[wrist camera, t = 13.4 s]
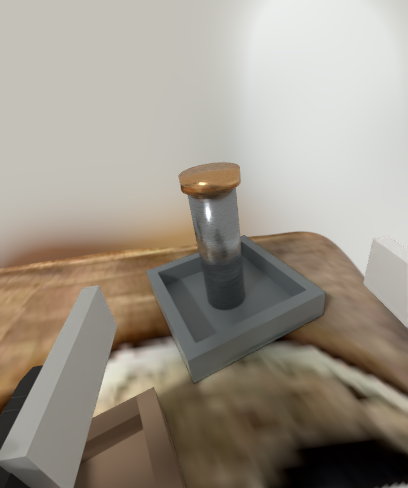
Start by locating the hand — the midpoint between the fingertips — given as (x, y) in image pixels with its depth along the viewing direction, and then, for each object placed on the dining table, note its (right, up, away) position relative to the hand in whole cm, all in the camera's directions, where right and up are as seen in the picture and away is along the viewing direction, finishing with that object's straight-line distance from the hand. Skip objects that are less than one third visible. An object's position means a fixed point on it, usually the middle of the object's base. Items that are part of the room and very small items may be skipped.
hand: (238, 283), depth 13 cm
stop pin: (0, -3, +12) cm, 12 cm away
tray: (0, -4, +12) cm, 13 cm away
